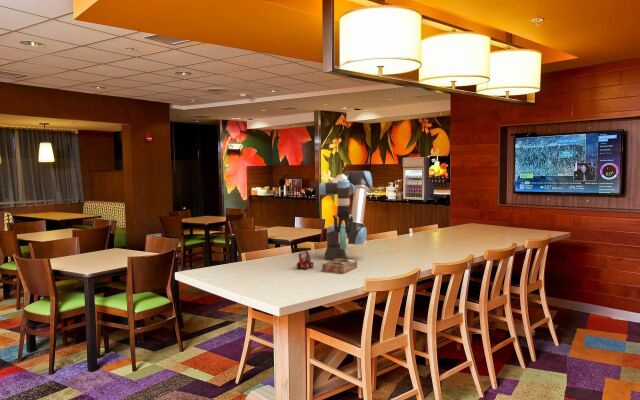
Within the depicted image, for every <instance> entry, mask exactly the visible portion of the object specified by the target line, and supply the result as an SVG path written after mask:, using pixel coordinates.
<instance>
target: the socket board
mask: <svg viewBox="0 0 640 400" xmlns="http://www.w3.org/2000/svg"><path fill="white" fill-rule="evenodd" d="M321 269H322V272H324V273H333V274H342V275H344V274H346V273H348V272H350V271H353V270H355V269H358V260H357V259H334V260H328V262H324V263H322V266H321Z"/></svg>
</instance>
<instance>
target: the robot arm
mask: <svg viewBox="0 0 640 400" xmlns="http://www.w3.org/2000/svg"><path fill="white" fill-rule="evenodd" d="M372 187H373V178H372V173H371V172H370V171H369V170H348V171H344V172H341V173H338V174H337V175H336V176H335V177H334V178H333V179H331V180H329V181H327V182H320V183H319V186H318V191H319V194H320V195H325V196H326V195H327V196H328V195H331V196H332V195H335V196H336V195H337V198H336V199H337V201H336V203H337V212H336V214H333V215H332V217H333V224H331V225H329V226H327V227H326V250H325V253H324V260H327V261H332V260H334V259H347V253H346V249H340V228H341V227H346V233H345V244H347V245H363V244H364V243H365V242H366V239H367V235H368V234H367V233H368V230H367V229H368V228H367V227H366V225H365V224H364V218H365V208H366V200H367V192H369V191H370V188H372ZM352 194H353V198H352V199H353V200H352V208H351V207H350V205H351V203H350V195H352ZM350 208H351V213H350ZM343 222H344V224H343ZM347 260H348V259H347Z"/></svg>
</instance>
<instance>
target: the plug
mask: <svg viewBox="0 0 640 400" xmlns="http://www.w3.org/2000/svg"><path fill="white" fill-rule="evenodd" d="M345 233H346V226H344V227H341V228H340V249H345V250H348V249H347V245H348V244H345Z"/></svg>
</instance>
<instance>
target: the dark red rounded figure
mask: <svg viewBox="0 0 640 400" xmlns="http://www.w3.org/2000/svg"><path fill="white" fill-rule="evenodd" d="M298 258H299V261H297V262H296V268H297V269H298V270H301V268H302V269H304V270H309V269H312V268H313V267H314V262H313V261H312V259H311V256H310V253H309V251H308V250H305V251H302V252H300V253H298Z"/></svg>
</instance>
